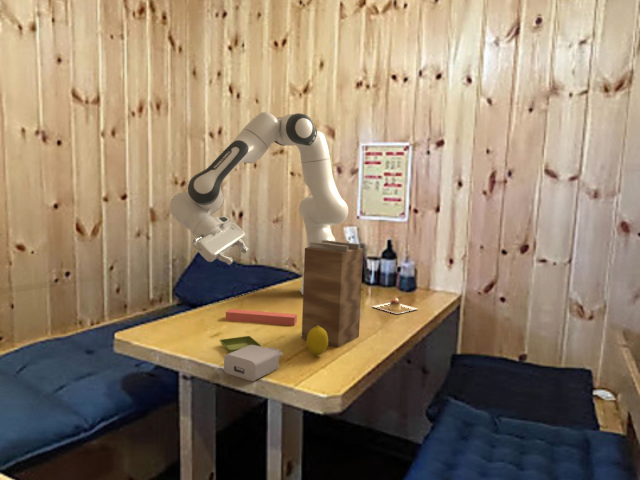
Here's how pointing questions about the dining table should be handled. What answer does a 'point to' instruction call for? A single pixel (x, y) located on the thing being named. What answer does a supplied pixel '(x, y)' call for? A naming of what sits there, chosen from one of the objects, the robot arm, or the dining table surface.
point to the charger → (252, 362)
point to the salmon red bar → (261, 317)
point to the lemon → (317, 340)
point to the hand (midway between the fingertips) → (239, 257)
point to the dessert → (395, 306)
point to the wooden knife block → (332, 290)
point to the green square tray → (238, 343)
